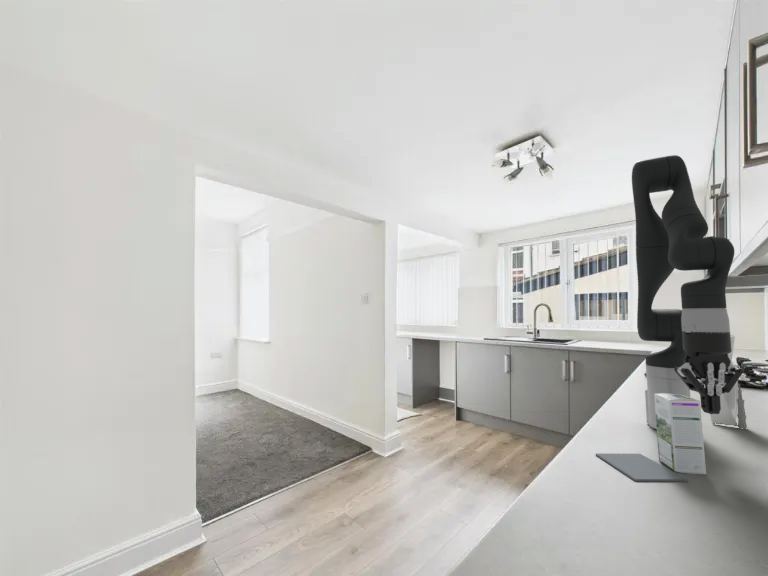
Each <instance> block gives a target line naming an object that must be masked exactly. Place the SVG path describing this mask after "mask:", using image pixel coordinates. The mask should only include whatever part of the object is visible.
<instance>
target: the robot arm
mask: <svg viewBox="0 0 768 576" xmlns="http://www.w3.org/2000/svg"><path fill="white" fill-rule="evenodd" d="M632 166H633V167H632V170H631V187H632V195H633V205H634V215H635V258H636V273H637V285H638V286H637V310H636V311H637V314H636V316H637V317H636V318H637V321H636V323H637V325H636V326H637V327H636V328H637V329H636V330H637V334H638V336H639V337H638V338H640V339H641V340H642V341H645V342H667V343H670V345H669V346H668V347H667V348H665V349H662V350H660V351H657V352H652V353H649V354H646V355H645V374H646V388H647V389H645V391H644V396H645V398H644V399H645V411H646V412H645V413H646V424H648V425H649V426H650V427H651V428H652V429H655V430H657V426H656V413H655V398H654V394H660V393H671V394H681V395H684V396H687V397H690V398H691V391H693V392H696V393H698V394H699V396H700V398H699V399H700V407H701V410H702V411H703V412H704V413H706V414H709V415H710V414H719V413H720V410H721V404H720V396H721V395H722V394H723V393H725V392H726V393H729V392H730V391H731V389H732V388H733V386H734V385H735V383H736V382H738V381H739V379H740V378H741V376H742V374H743V373H744V370H743V369H742V368H738V367H735V366H732V365H731V361H730V359H729V357H728V354H729V353H731V352H732V349H731V337H732V336H730V335H731V325H730V319H729V314H728V310H727V298H726V296H727V295H726V286H727V283H728V279H729V278H728V277H729V274H730V270H731V267H732V265H733V264H732V263H733V260H734V258H735V257H734V256H735V247H734V245H733V243H732V242H731V241H730V240H729V239H728V238H726V237H723V236H709V237H707V236H706V235H707V234H708V231H709V225H708V222H707V221H706V219H705V217H704V216H703V214H702V211H701V210H700V207H698V205H697V203H696V200H695V195H694V191H693V188H692V187H693V186H692V183H691V178H690V176H689V172H688V168H687V165H686V162H685V161H684V159H683V158H682V156H679V155H678V154H677V155H676V154H671V155H664V156H660V157H659V156H658V157H654V158H648V159H642V160H638V161H636V162H635V163H634V165H632ZM667 191H672V192H673V193H672V194H671V196H670V197H669V198H668V200H667V201H666V203H665V205H664V206H663V208H662V211H661V217H660V215H659V214H658V213H657V211H656V209H655V208H654V205H653V203H652V200H651V195H650V194H654V193H661V192H667ZM674 270H677V271H685V272H686V271H707V273H706V274H705V276H704V277H703V278H702V279H699V280H692V281H687V282H685V283H683V284H682V285H681V287H680V298H681V299H680V300H681V301H680V302H681V309H678V308H665V309H664V308H655V309H654V308H652V307H653V302H654V299H655V297H656V295H657V293H658V292H659V290H660V288H661V287H662V286H663V284H664V283H665V282H666V280H668V278H669V277H670V276H671V275H672V273H673V272H674ZM714 378H715V379H716V380H714ZM725 383H726V384H725ZM713 384H714V386H713ZM724 384H725V385H724ZM723 385H724V386H723Z"/></svg>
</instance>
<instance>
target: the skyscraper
mask: <svg viewBox="0 0 768 576" xmlns="http://www.w3.org/2000/svg"><path fill="white" fill-rule="evenodd" d="M730 336H731V349H732V352H731V353H729V354H728V357H729V359H730V361H731V365H732V366H734V362H733V360H732V359H733V356H734V355H733V354H734V348H735V345H734V344H735V340H736V339H735V337H736V336H735V335H733V334H730ZM734 367H735V366H734ZM714 380H716V379H715V378H714ZM725 384H726V383H725ZM725 384H724V385H725ZM724 385H723V386H724ZM713 386H714V384H713ZM742 393H743V392H742V389H741V383H739V382H738V381H737V382H736V383H735V385H734V386H733V388H732V389H731V391H730V392H729V393H726V392H725V393H723V394H722V395H721V396H720V404H721V410H720V413H719V414H709V420H710V419H711V421H712V422H711V421H710V422H711V424H712V425H713V426H715V423H716V424H725V425H734V426H738V427H739V428H743V429H746V428H747V429H748V426H747V415H746V410H745V399H743V394H742ZM736 421H737V422H736ZM737 423H738V425H737Z"/></svg>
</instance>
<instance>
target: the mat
mask: <svg viewBox="0 0 768 576" xmlns="http://www.w3.org/2000/svg"><path fill="white" fill-rule="evenodd" d="M595 456H596V457H597V458H599V459H600V460H602V461H603V462H605V463H606V464H607V465H610V466H611V467H613V468H614V469H616V470H617V471H619V472H620V473H622V474H623V475H625V476H627V478H629V479H631V480H633V481H634V482H676V483H677V482H685V483H686V482H688V481H689V480H688V478H686V477H684V476H682V475H681V474H679V473H678V472H675V471H673V470H672V469H670V468H669V467H667V466H666V467H665V466H664V465H662V464H660V463H658V462H656V461H655V460H652V459H650V458H649V457H648V456H645V455H644V454H642V453H595Z"/></svg>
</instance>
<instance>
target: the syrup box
mask: <svg viewBox="0 0 768 576" xmlns="http://www.w3.org/2000/svg"><path fill="white" fill-rule="evenodd" d="M654 398H655V413H656V426H657V429H656V436H657V437H656V438H657V440H656V441H657V450H658V452H657V453H658V461H659V462H660V463H662V464H664V465H665V466H666V467H667V468H668V469H670V470H671V471H673V472H675V473H680V474H681V473H682V474H689V475H690V474H691V475H692V474H694V475H705V476H706V475H707V467H706V466H707V465H706V457H705V456H706V455H705V443H704V435H703V434H704V432H703V422H702V421H703V420H702V408H701V400H699V399H695V398H692V397H691V396H690V397H687V396H684V395H681V394H671V393H660V394H654Z"/></svg>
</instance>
